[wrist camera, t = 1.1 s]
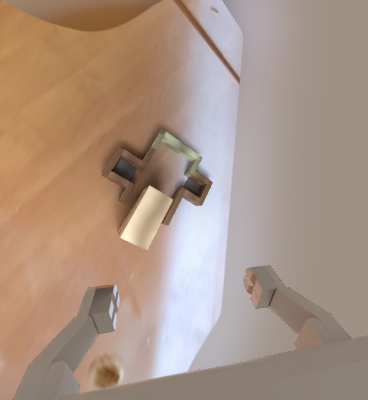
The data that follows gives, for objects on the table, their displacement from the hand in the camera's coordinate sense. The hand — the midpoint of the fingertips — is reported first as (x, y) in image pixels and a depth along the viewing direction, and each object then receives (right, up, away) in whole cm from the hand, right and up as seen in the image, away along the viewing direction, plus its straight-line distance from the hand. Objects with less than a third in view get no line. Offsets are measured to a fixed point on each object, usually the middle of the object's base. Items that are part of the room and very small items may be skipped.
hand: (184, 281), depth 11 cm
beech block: (-10, +1, +28) cm, 30 cm away
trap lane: (-5, +10, +31) cm, 33 cm away
